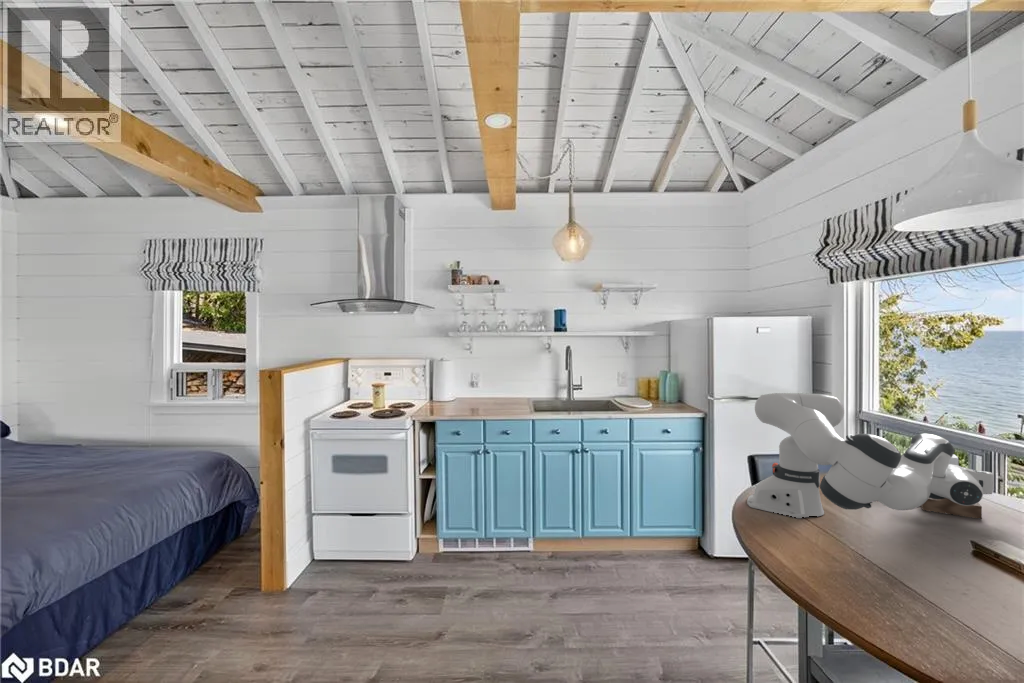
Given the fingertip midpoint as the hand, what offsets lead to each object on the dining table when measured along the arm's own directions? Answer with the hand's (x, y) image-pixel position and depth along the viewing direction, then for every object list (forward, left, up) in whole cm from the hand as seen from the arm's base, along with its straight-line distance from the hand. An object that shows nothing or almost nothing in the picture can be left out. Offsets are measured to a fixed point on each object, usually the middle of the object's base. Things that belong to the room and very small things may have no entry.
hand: (945, 469), depth 158 cm
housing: (0, -1, -7) cm, 7 cm away
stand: (0, -1, -12) cm, 12 cm away
